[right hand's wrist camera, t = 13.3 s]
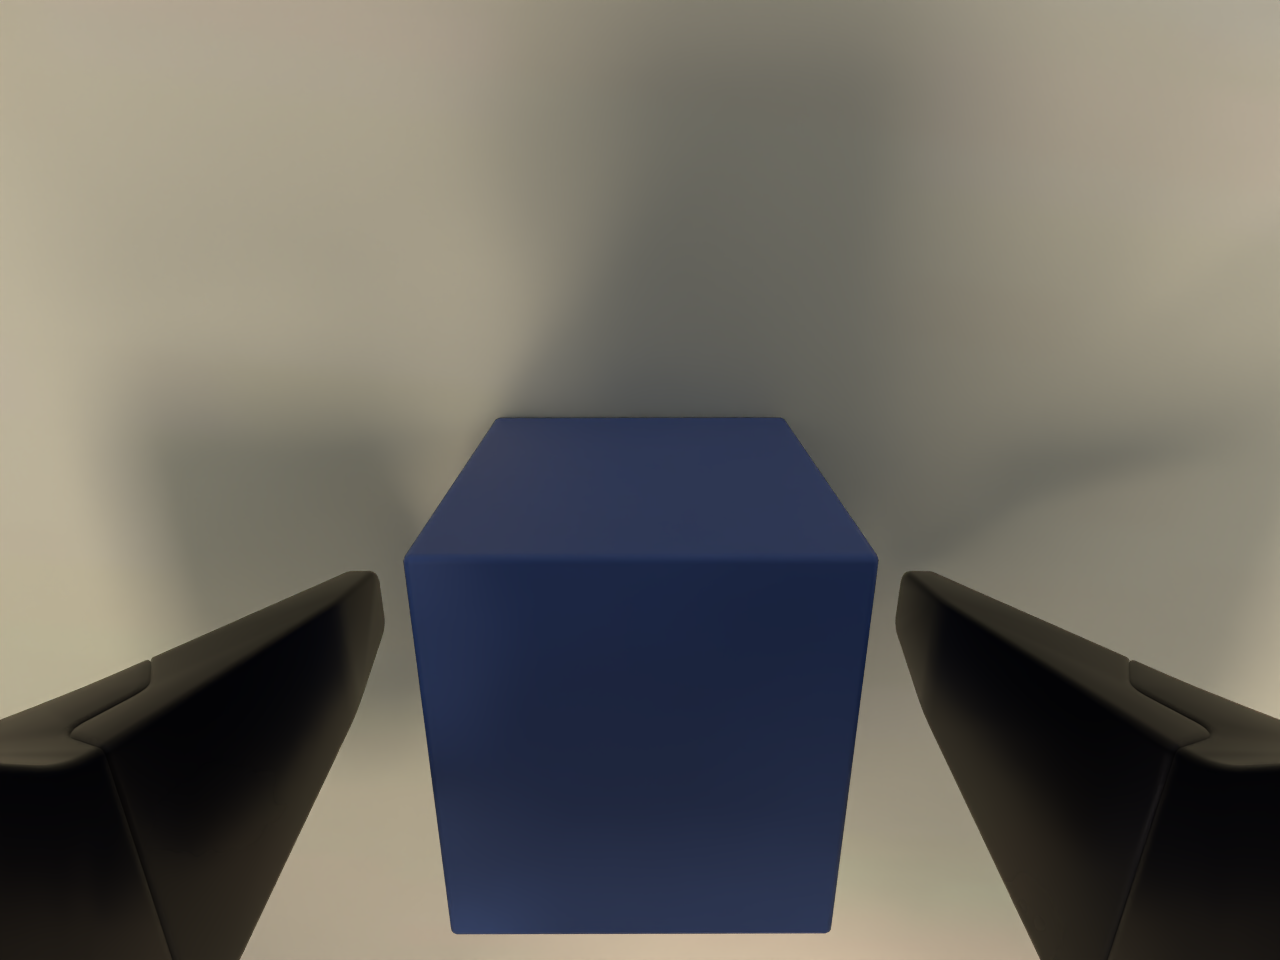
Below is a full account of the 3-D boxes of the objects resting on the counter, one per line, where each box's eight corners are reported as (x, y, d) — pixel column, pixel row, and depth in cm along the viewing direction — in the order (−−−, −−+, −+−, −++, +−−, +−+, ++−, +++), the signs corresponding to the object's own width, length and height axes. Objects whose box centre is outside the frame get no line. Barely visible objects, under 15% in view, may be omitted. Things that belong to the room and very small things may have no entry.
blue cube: (784, 416, 12) (882, 555, 7) (765, 684, 13) (832, 936, 9) (495, 416, 12) (399, 556, 7) (515, 684, 13) (449, 937, 9)
